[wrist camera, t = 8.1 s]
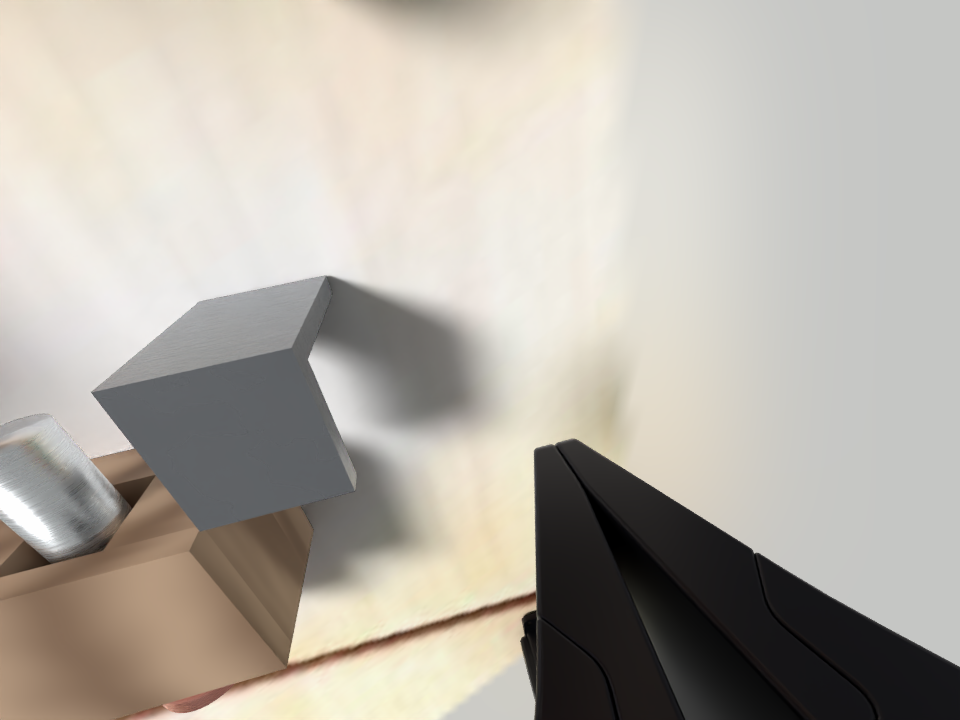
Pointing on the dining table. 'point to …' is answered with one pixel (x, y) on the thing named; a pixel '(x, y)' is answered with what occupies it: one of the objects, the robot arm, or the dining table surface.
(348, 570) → the dining table surface
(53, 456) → the pin
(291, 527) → the hitch block
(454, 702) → the dining table surface
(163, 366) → the bracket
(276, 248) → the dining table surface
